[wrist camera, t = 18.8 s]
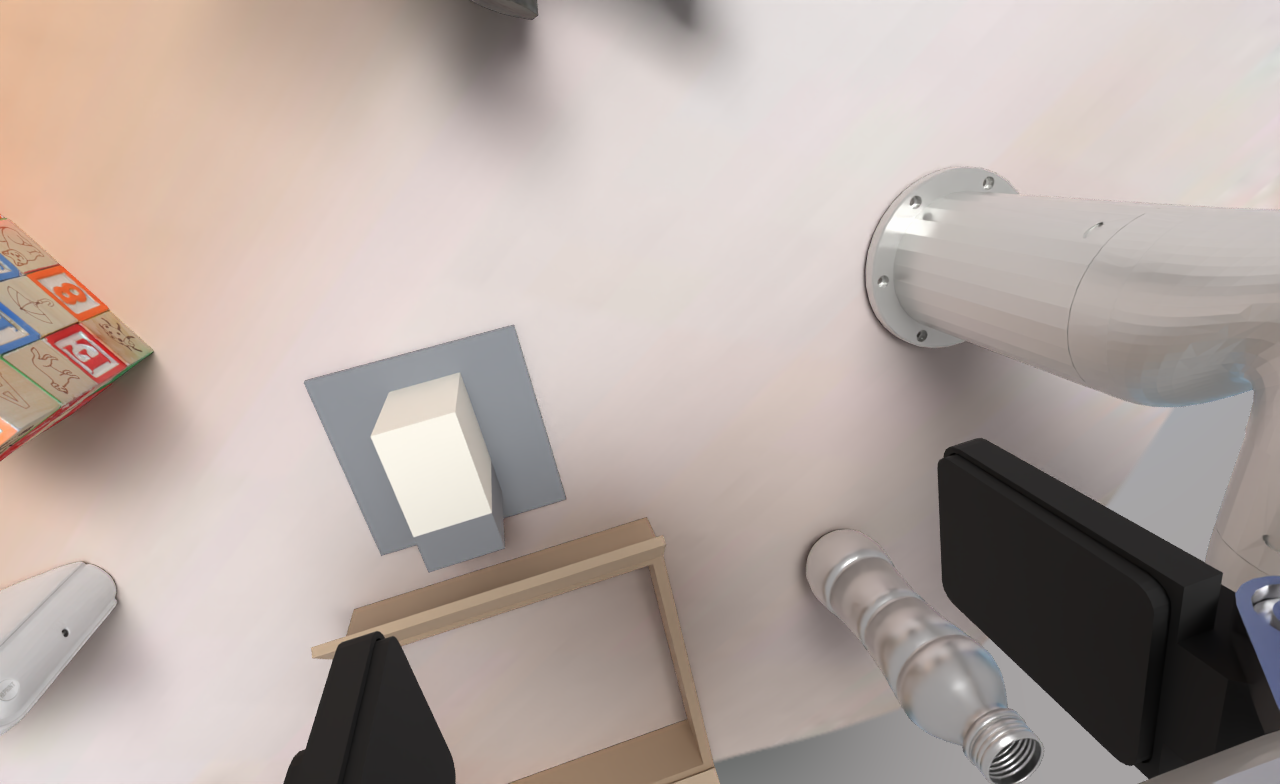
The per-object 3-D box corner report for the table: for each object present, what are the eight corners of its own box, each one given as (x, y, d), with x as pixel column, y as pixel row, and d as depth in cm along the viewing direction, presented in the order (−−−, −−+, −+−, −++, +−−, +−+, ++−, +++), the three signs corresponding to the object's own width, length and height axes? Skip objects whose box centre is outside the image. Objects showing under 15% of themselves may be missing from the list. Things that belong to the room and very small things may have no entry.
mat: (513, 324, 41) (513, 326, 40) (565, 496, 46) (566, 499, 45) (305, 380, 39) (303, 382, 39) (382, 552, 44) (381, 555, 44)
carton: (638, 482, 47) (664, 538, 40) (703, 746, 57) (733, 827, 50) (337, 575, 44) (309, 652, 37) (463, 834, 54) (460, 933, 47)
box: (460, 372, 41) (455, 412, 34) (502, 491, 44) (504, 548, 38) (389, 392, 40) (370, 436, 34) (437, 511, 44) (428, 572, 37)
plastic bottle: (802, 598, 54) (965, 825, 36) (790, 533, 51) (959, 741, 33) (871, 573, 55) (1066, 782, 36) (863, 507, 52) (1069, 696, 34)
